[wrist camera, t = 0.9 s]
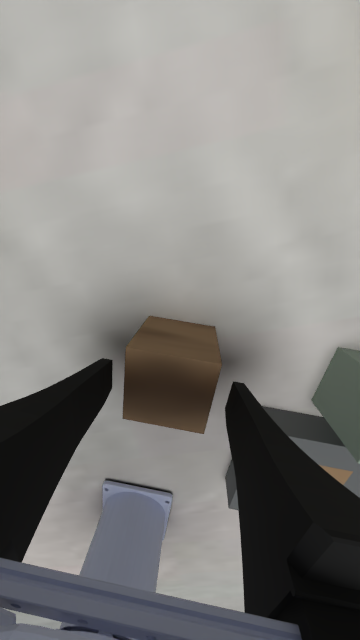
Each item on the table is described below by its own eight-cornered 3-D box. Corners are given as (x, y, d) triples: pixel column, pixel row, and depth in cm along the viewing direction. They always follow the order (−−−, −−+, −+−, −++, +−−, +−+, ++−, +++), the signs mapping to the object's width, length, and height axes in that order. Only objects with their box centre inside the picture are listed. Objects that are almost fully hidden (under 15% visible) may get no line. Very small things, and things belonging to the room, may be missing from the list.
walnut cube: (202, 380, 16) (203, 434, 12) (144, 369, 16) (122, 418, 12) (214, 326, 14) (222, 364, 10) (149, 315, 15) (125, 347, 10)
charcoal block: (319, 491, 20) (339, 531, 17) (224, 472, 20) (228, 508, 18) (367, 421, 16) (401, 457, 14) (250, 400, 17) (260, 430, 14)
